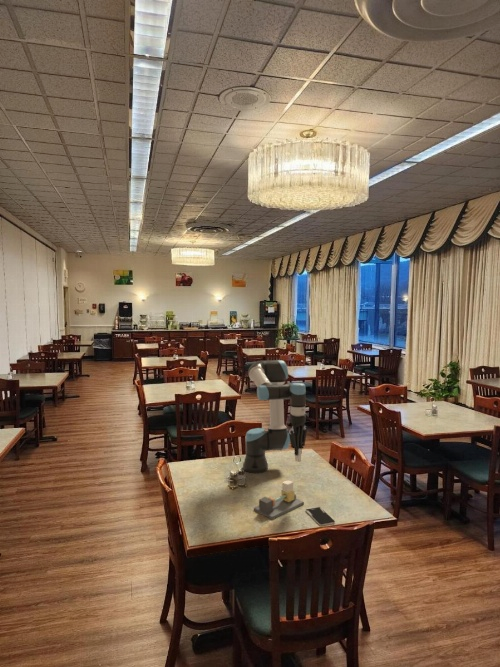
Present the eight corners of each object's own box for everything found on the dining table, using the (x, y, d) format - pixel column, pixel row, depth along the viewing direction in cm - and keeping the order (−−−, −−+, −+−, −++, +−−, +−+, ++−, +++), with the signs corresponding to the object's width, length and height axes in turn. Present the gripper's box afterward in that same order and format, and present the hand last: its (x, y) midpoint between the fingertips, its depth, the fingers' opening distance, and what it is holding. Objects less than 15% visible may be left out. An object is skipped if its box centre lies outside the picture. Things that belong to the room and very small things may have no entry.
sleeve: (281, 499, 202) (281, 482, 202) (287, 496, 205) (287, 479, 204) (288, 502, 199) (288, 484, 198) (294, 499, 201) (294, 482, 201)
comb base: (254, 510, 195) (254, 497, 195) (285, 496, 210) (285, 483, 209) (271, 519, 186) (271, 505, 186) (303, 504, 201) (303, 491, 200)
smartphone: (320, 524, 180) (304, 508, 194) (320, 527, 180) (304, 511, 194) (335, 521, 182) (319, 506, 197) (335, 524, 182) (319, 509, 197)
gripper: (294, 418, 197) (295, 466, 198) (312, 413, 206) (312, 459, 207) (283, 415, 203) (283, 462, 204) (300, 411, 212) (301, 456, 213)
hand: (298, 461), depth 206 cm, fingers closed
